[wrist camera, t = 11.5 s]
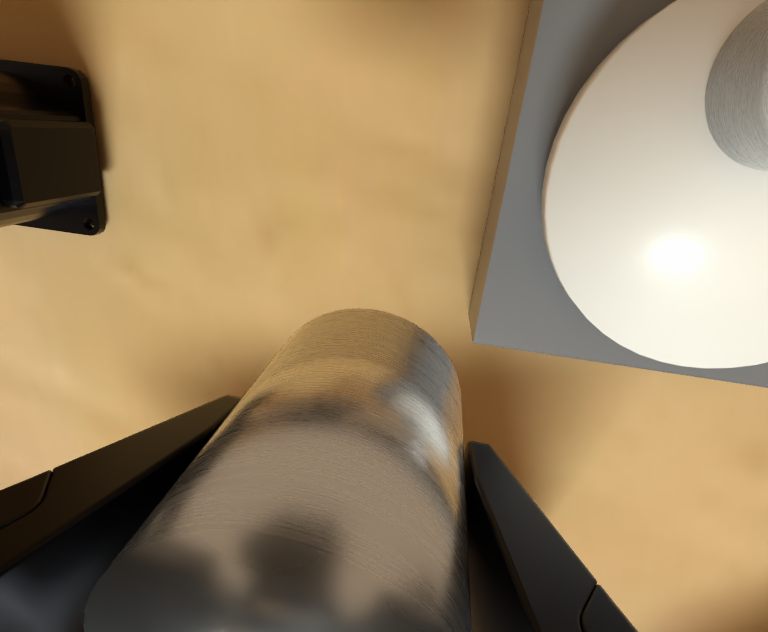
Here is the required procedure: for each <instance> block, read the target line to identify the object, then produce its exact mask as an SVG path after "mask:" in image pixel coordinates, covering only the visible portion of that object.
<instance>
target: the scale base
mask: <svg viewBox="0 0 768 632" xmlns="http://www.w3.org/2000/svg"><path fill="white" fill-rule="evenodd" d="M675 1H676V0H531V1H530V6H529V11H528V17H527V22H526V27H525V32H524V37H523V42H522V47H521V52H520V57H519V62H518V67H517V72H516V77H515V82H514V87H513V92H512V97H511V102H510V107H509V112H508V117H507V122H506V127H505V132H504V138H503V143H502V148H501V153H500V158H499V163H498V168H497V173H496V178H495V183H494V188H493V193H492V198H491V203H490V208H489V213H488V218H487V223H486V228H485V233H484V238H483V243H482V248H481V253H480V259H479V264H478V269H477V274H476V279H475V284H474V289H473V294H472V299H471V304H470V309H469V320H470V327H471V334H472V341H473V343H476V344H483V345H490V346H496V347H503V348H509V349H516V350H523V351H529V352H536V353H542V354H549V355H555V356H562V357H569V358H575V359H582V360H588V361H595V362H602V363H608V364H615V365H621V366H628V367H634V368H641V369H648V370H654V371H661V372H667V373H674V374H681V375H687V376H694V377H700V378H707V379H714V380H720V381H727V382H733V383H740V384H746V385H753V386H760V387H766V388H768V362H767V363H762V364H758V365H751V366H743V367H735V368H696V367H685V366H679V365H674V364H669V363H664V362H660V361H657V360H654V359H651V358H648V357H645V356H642V355H639V354H637V353H635V352H633V351H631V350H629V349H627V348H625V347H623V346H621V345H619V344H618V343H616V342H615V341H614V340H612V339H611V338H609V337H608V336H606V335H605V334H603V333H602V332H601V331H600V330H599V329H598V328H597V327H595V326H594V325H593V324H592V323H591V322H590V321H589V320H588V319H587V318H586V317H585V316H584V314H583V313H582V312H581V311H580V309H579V308H578V307H577V306H576V305H575V303H574V302H573V301H572V299H571V298H570V297H569V296H568V294H567V293H566V292H565V290H564V288H563V286H562V285H561V283H560V281H559V280H558V278H557V276H556V274H555V272H554V269H553V267H552V264H551V262H550V259H549V257H548V253H547V249H546V245H545V241H544V237H543V228H542V218H541V202H542V187H543V181H544V175H545V169H546V164H547V161H548V158H549V155H550V151H551V148H552V145H553V141H554V139H555V137H556V134H557V132H558V130H559V127H560V125H561V123H562V121H563V118H564V116H565V114H566V113H567V111H568V109H569V107H570V106H571V104H572V102H573V101H574V99H575V97H576V95H577V94H578V92H579V90H580V89H581V88H582V86H583V85H584V84H585V82H586V81H587V80H588V78H589V77H590V76H591V74H592V73H593V71H594V70H595V69H596V67H597V66H598V65H599V64H600V63H601V62H602V61H603V60H604V59H605V58H606V57H607V55H608V54H609V53H610V52H611V51H612V50H613V49H614V48H615V47H616V46H617V45H618V44H619V43H620V42H621V41H622V40H623V39H625V38H626V37H627V36H628V35H629V34H630V33H631V32H633V31H634V30H635V29H636V28H637V27H638V26H639V25H641V24H642V23H643V22H645V21H646V20H648V19H649V18H650V17H652V16H653V15H655V14H656V13H658V12H659V11H660V10H662V9H663V8H665V7H666V6H668V5H669V4H671V3H673V2H675Z"/></svg>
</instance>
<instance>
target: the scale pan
mask: <svg viewBox="0 0 768 632" xmlns="http://www.w3.org/2000/svg"><path fill="white" fill-rule="evenodd" d="M764 1H765V0H676V1H675V2H673V3H671V4H669V5H668V6H666V7H665V8H663V9H662V10H660V11H659V12H658V13H656V14H655V15H653V16H652V17H650V18H649V19H648V20H646V21H645V22H643V23H642V24H641V25H639V26H638V27H637V28H636V29H635V30H634V31H633V32H631V33H630V34H629V35H628V36H627V37H626V38H625V39H623V40H622V41H621V42H620V43H619V44H618V45H617V46H616V47H615V48H614V49H613V50H612V51H611V52H610V53H609V54H608V55H607V57H606V58H605V59H604V60H603V61H602V62H601V63H600V64H599V65H598V66H597V67H596V69H595V70H594V71H593V73H592V74H591V76H590V77H589V78H588V80H587V81H586V82H585V84H584V85H583V86H582V88H581V89H580V90H579V92H578V94H577V95H576V97H575V99H574V101H573V102H572V104H571V106H570V107H569V109H568V111H567V113H566V114H565V116H564V118H563V121H562V123H561V125H560V127H559V130H558V132H557V134H556V137H555V139H554V141H553V145H552V148H551V151H550V155H549V158H548V161H547V164H546V169H545V175H544V181H543V187H542V202H541V218H542V228H543V237H544V241H545V245H546V249H547V253H548V257H549V259H550V262H551V264H552V267H553V269H554V272H555V274H556V276H557V278H558V280H559V281H560V283H561V285H562V286H563V288H564V290H565V292H566V293H567V294H568V296H569V297H570V298H571V299H572V301H573V302H574V303H575V305H576V306H577V307H578V308H579V309H580V311H581V312H582V313H583V314H584V316H585V317H586V318H587V319H588V320H589V321H590V322H591V323H592V324H593V325H594V326H595V327H597V328H598V329H599V330H600V331H601V332H602V333H603V334H605V335H606V336H608V337H609V338H611V339H612V340H614V341H615V342H616V343H618V344H619V345H621V346H623V347H625V348H627V349H629V350H631V351H633V352H635V353H637V354H639V355H642V356H645V357H648V358H651V359H654V360H657V361H660V362H664V363H669V364H674V365H679V366H685V367H696V368H735V367H743V366H751V365H758V364H762V363H767V362H768V171H763V170H757V169H752V168H749V167H746V166H743V165H741V164H739V163H737V162H735V161H734V160H732V159H731V158H730V157H728V156H727V155H726V154H725V153H724V152H723V151H722V150H721V149H720V148H719V147H718V145H717V144H716V142H715V141H714V139H713V137H712V135H711V133H710V131H709V127H708V124H707V120H706V113H705V94H706V87H707V82H708V78H709V75H710V71H711V69H712V66H713V64H714V61H715V59H716V57H717V55H718V53H719V51H720V49H721V47H722V46H723V44H724V43H725V41H726V40H727V38H728V37H729V35H730V34H731V33H732V31H733V30H734V29H735V28H736V27H737V25H738V24H739V23H740V22H741V21H742V20H743V19H744V18H745V17H746V16H747V15H748V14H749V13H750V12H751V11H752V10H754V9H755V8H756V7H757V6H758V5H760V4H761V3H762V2H764Z"/></svg>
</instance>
